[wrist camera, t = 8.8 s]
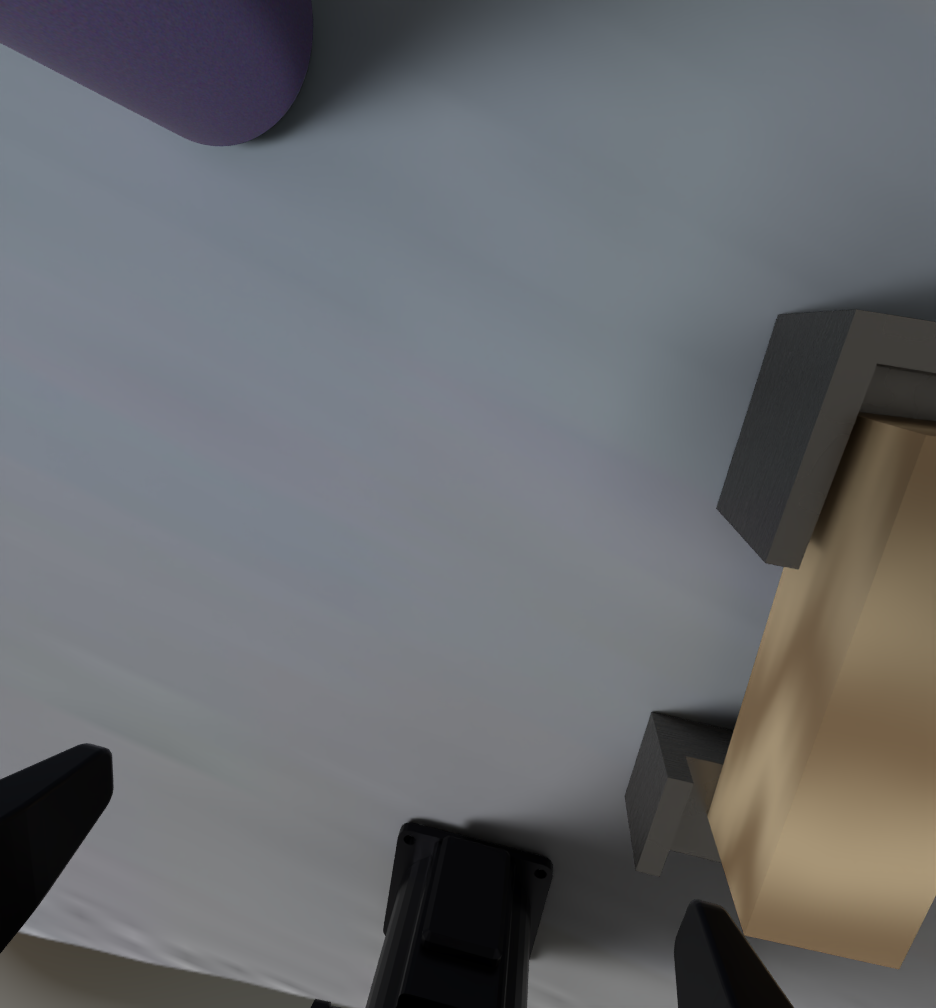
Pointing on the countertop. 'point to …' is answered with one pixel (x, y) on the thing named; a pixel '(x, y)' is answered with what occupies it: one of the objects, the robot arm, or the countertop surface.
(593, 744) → the countertop surface
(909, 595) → the rail
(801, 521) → the bracket
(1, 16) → the beverage can
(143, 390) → the countertop surface
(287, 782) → the countertop surface
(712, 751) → the dark grey arch block
